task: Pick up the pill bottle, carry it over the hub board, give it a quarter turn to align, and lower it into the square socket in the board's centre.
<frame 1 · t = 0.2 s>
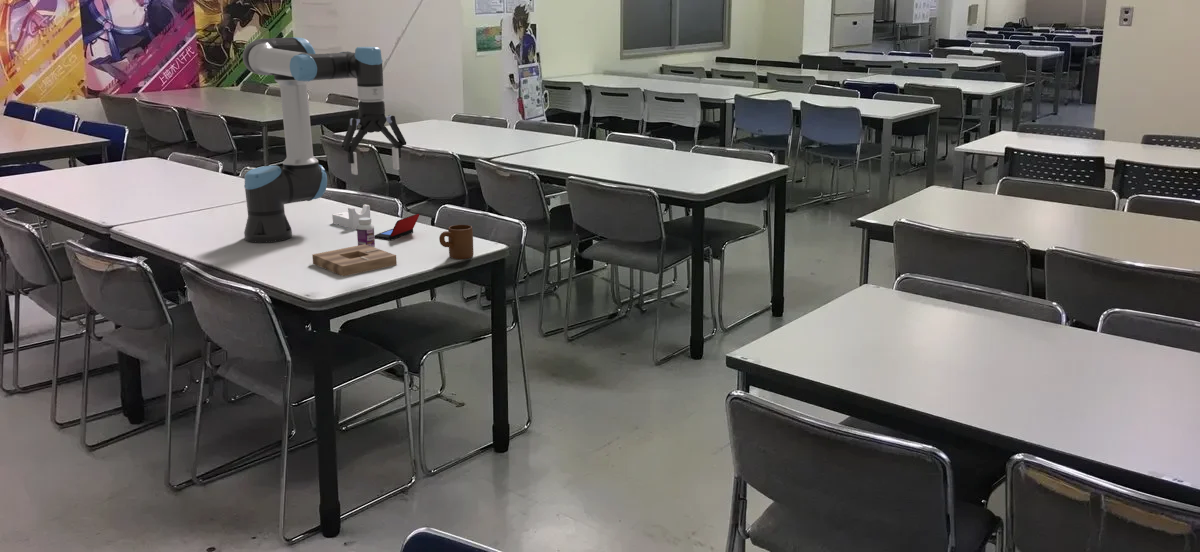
hand: (375, 171, 291), 27 cm above the table, fingers open, 13 cm apart
bracket: (352, 225, 342), on the table
pill bottle: (366, 248, 311), on the table
handheld game console: (397, 237, 327), on the table
mug: (456, 258, 300), on the table
hub board: (354, 264, 292), on the table
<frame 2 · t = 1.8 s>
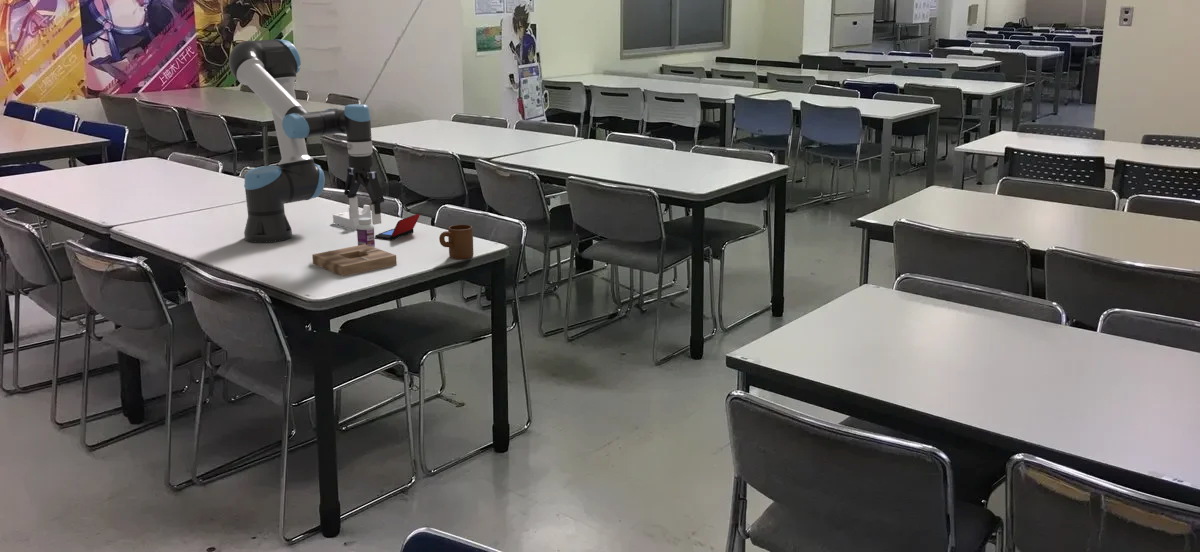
hand: (365, 220, 309), 9 cm above the table, fingers open, 13 cm apart
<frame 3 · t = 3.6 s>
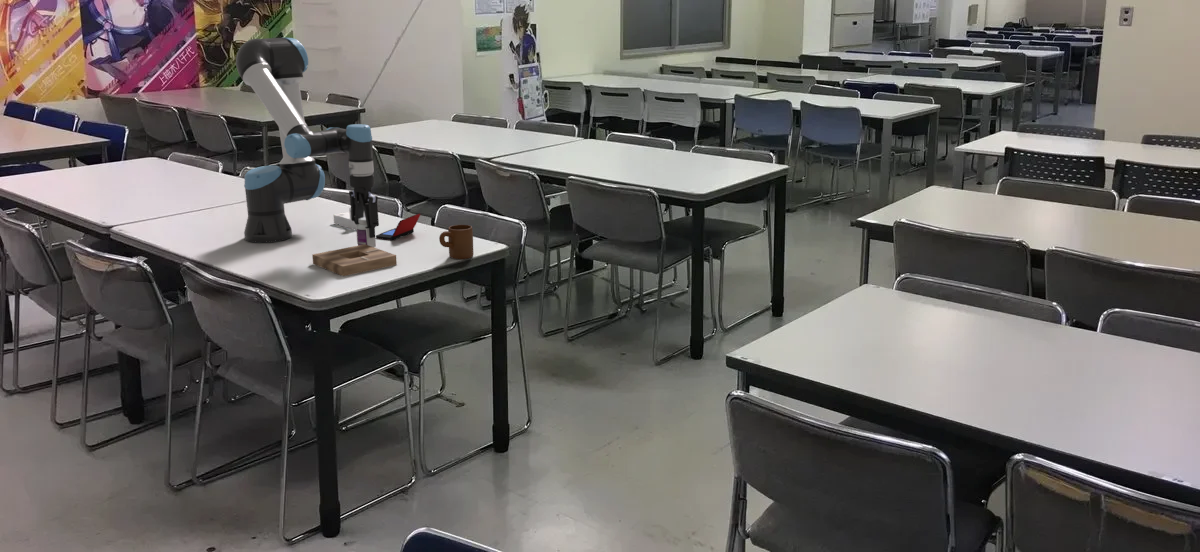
hand: (366, 245, 311), 1 cm above the table, fingers closed on pill bottle, 5 cm apart
pill bottle: (366, 248, 311), on the table, touching gripper
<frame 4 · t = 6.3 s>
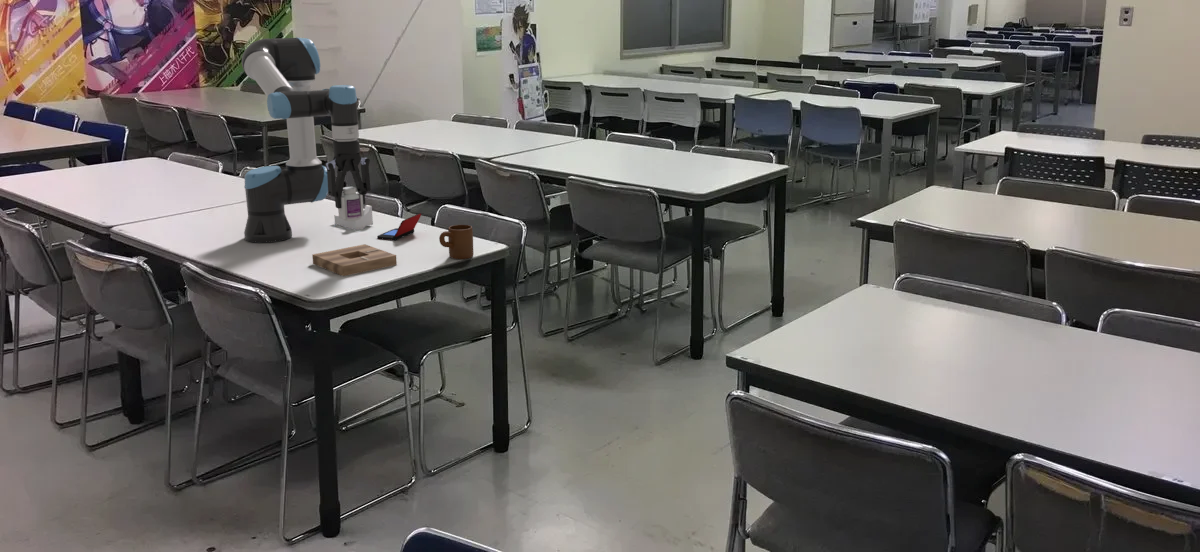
hand: (351, 216, 288), 15 cm above the table, fingers closed on pill bottle, 5 cm apart
pill bottle: (351, 220, 289), point 14 cm above the table, touching gripper
when the fingers open (5 cm above the table, at t = 9.1 s): pill bottle drops 4 cm, resting in hub board.
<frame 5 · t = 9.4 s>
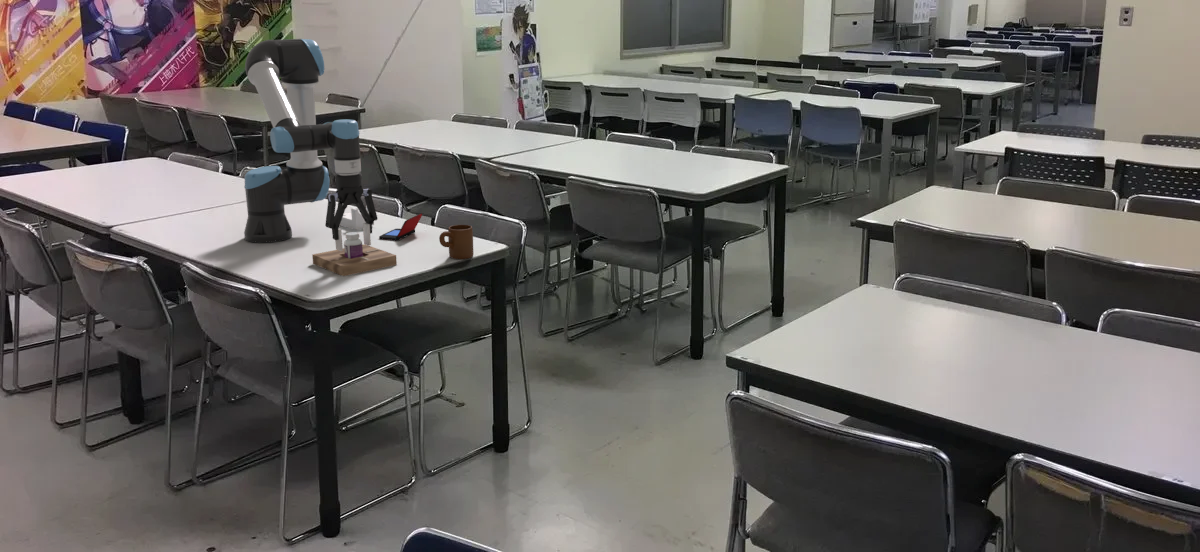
hand: (353, 247, 291), 5 cm above the table, fingers open, 9 cm apart
pill bottle: (354, 265, 292), resting in hub board
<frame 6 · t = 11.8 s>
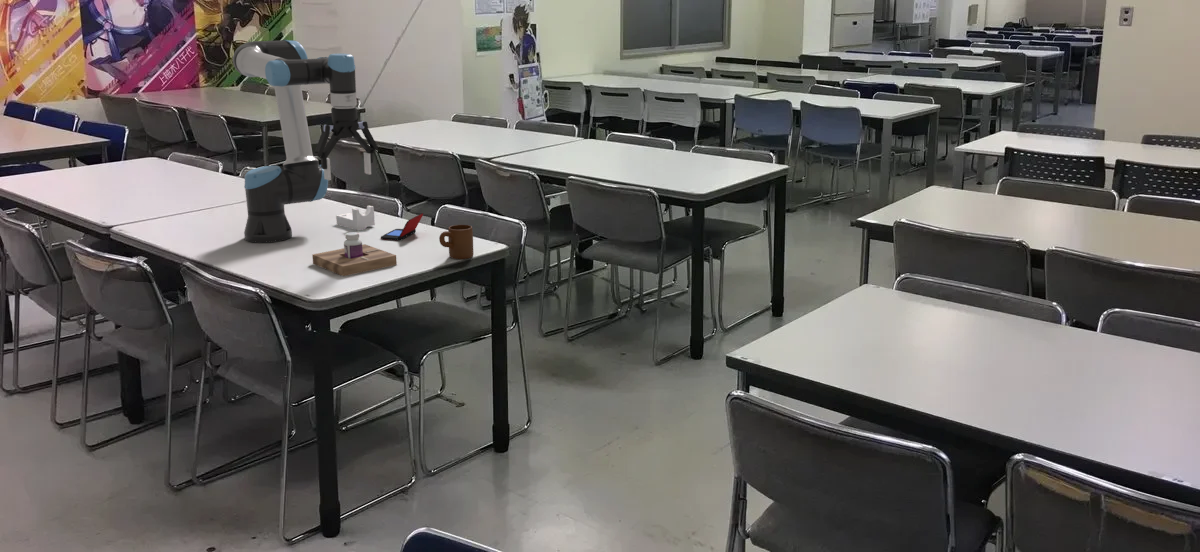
hand: (348, 176, 295), 25 cm above the table, fingers open, 13 cm apart
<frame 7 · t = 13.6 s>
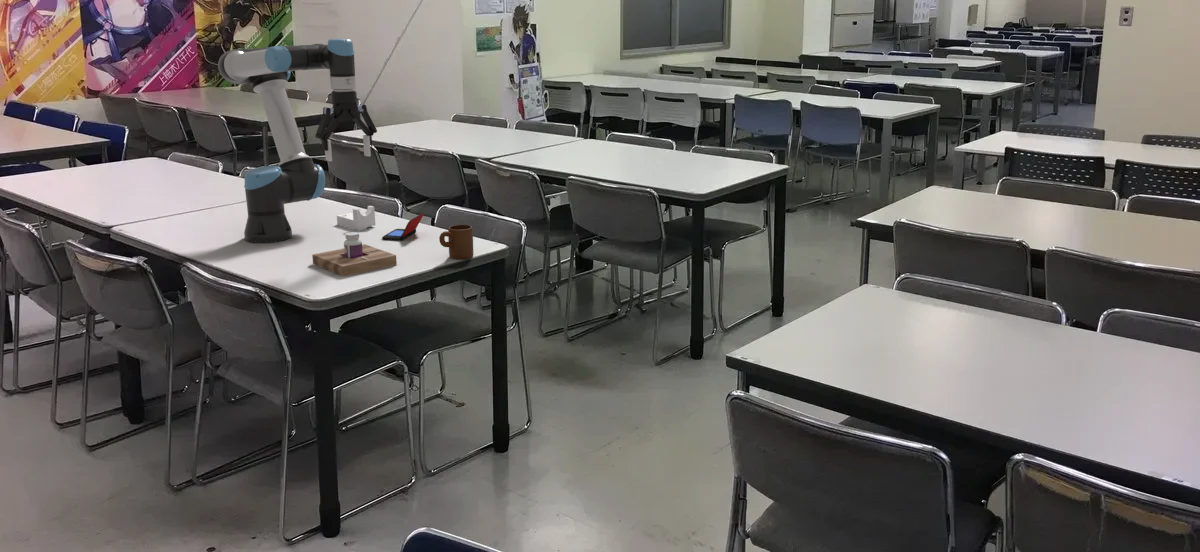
hand: (348, 158, 305), 29 cm above the table, fingers open, 13 cm apart
at the end: pill bottle 0.1 cm off-centre on the hub board, point 0.0 cm above the hub board's base; pill bottle tilted 0°; the gripper is holding nothing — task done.
